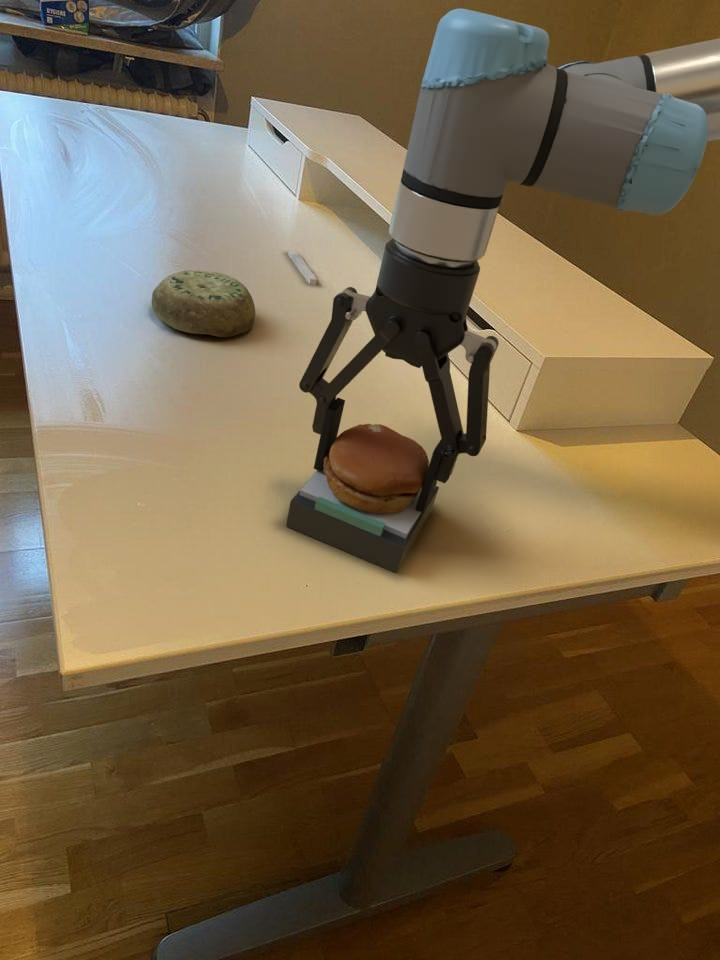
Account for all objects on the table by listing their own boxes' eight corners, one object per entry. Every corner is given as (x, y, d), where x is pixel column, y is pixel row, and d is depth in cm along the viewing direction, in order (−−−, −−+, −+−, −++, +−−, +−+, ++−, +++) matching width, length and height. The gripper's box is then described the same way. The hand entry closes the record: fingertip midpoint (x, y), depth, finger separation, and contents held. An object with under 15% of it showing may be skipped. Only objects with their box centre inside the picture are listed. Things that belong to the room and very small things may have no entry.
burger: (355, 525, 64) (366, 482, 61) (303, 465, 69) (312, 423, 67) (442, 505, 69) (456, 464, 66) (388, 450, 75) (399, 411, 72)
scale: (431, 510, 74) (442, 478, 72) (396, 573, 65) (407, 539, 63) (332, 470, 76) (339, 438, 74) (285, 526, 67) (292, 491, 65)
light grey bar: (315, 285, 118) (316, 279, 117) (309, 284, 117) (310, 278, 117) (294, 255, 127) (295, 250, 126) (288, 255, 127) (289, 249, 126)
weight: (128, 312, 96) (129, 275, 93) (196, 290, 106) (199, 256, 103) (210, 352, 92) (214, 314, 89) (273, 324, 102) (278, 290, 99)
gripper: (581, 282, 57) (493, 507, 70) (323, 198, 62) (284, 425, 74) (568, 310, 51) (474, 551, 64) (283, 215, 56) (248, 458, 68)
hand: (372, 483), depth 69 cm, fingers closed on burger, 9 cm apart
